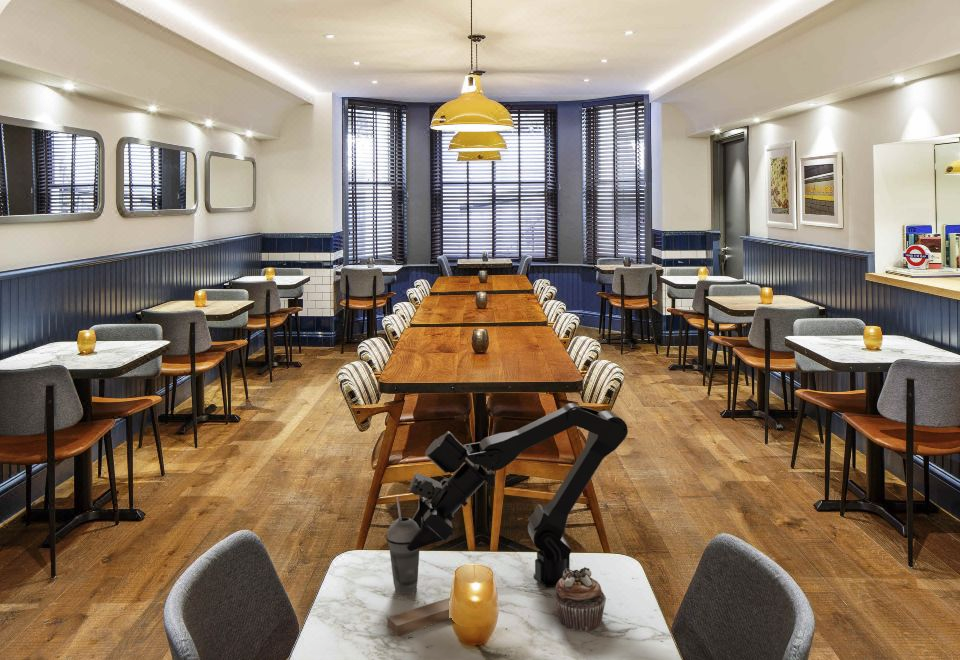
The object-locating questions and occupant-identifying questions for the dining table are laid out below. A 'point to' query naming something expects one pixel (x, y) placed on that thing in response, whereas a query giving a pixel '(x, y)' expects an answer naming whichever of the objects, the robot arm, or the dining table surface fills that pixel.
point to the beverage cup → (403, 554)
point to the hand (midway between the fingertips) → (407, 540)
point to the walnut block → (419, 617)
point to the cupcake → (579, 600)
